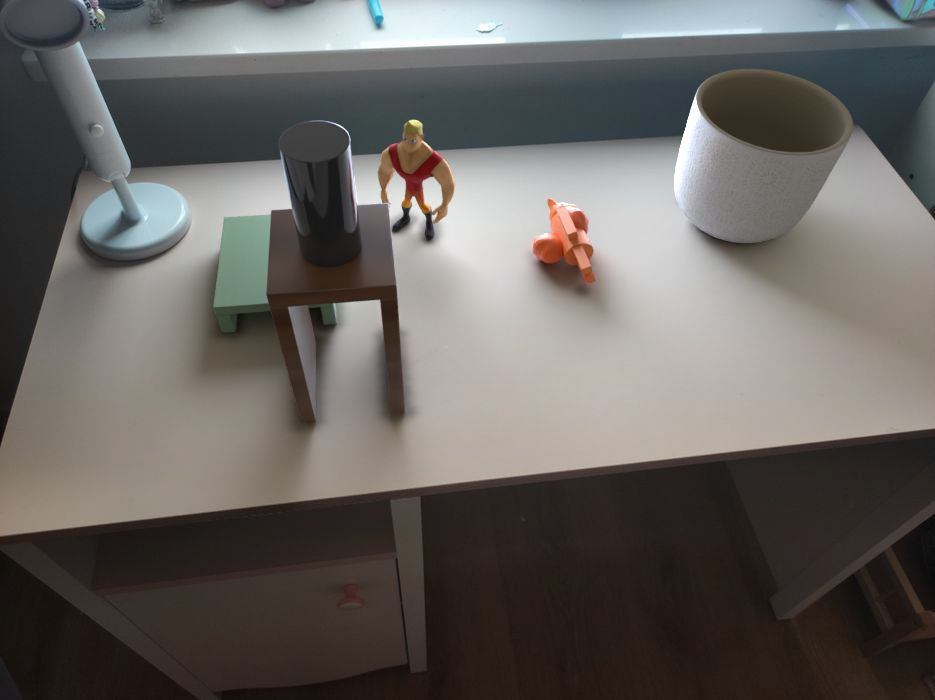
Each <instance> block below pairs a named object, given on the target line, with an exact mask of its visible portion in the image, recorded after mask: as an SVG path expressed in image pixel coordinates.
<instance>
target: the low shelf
mask: <svg viewBox="0 0 935 700" xmlns="http://www.w3.org/2000/svg"><path fill="white" fill-rule="evenodd" d="M270 221H271V213H270V214H256V215H240V216H226V217H225V216H224V217H223V222H222V223H223V224H222V231H221V238H220V249H219V255H218V265H217V271H216V272H217V273H216V279H215V288H214V289H215V290H214V297H213V305H212V308H213V311H214V314H215V317H216V319H217V323H218V325H219V328H220V330H221V333H223V334H226V333H236V331H237V321H238V315H239V314H249V313H261V312H262V313H263V312H271V310H270V307H269V303H268V299H267V296H266V290H267V273H268V256H269V238H270ZM308 308H309V309H314V308H315V309H317V308H319V309H320V313H321V319H322V323H323V326H324V325H336V324H337V320H338V319H337V303H332V304H319V305H308Z"/></svg>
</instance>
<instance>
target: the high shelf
mask: <svg viewBox="0 0 935 700" xmlns="http://www.w3.org/2000/svg"><path fill="white" fill-rule="evenodd" d="M389 206H390V205H389V204H388V203H382V202H381V203H365V204H358V213H359V222H360V231H361V240H362V247H361V250H360V252H359V253H358V255H357V256H356V257H355V258H354V259H353V260H351V261H349V262H347V263H345V264H343V265H339V266H334V267H323V266H318V265H315V264H312V263H310V262H309V261H307V260H306V259H305V258H304V257H303V256H302V254H301V252H300V247H299V242H298V237H297V232H296V228H295V223H294V218H293V213H292V208H285V209H283V208H281V209H271V210H270V214H271V221H270V238H269V256H268V273H267V290H266V296H267V299H268V303H269V307H270V310H271V311H270V314H271V318H272V321H273V324H274V328H275V332H276V336H277V339H278V342H279V346H280V350H281V354H282V357H283V361H284V365H285V368H286V372H287V375H288V380H289V383H290V387H291V390H292V395H293V397H294V401H295V405H296V408H297V412H298V415H299V419H300V423H301V424H304V423H305V424H306V423H316V422H317V341H316V337H315V336H316V335H315V332H314V327H313V323H312V318H311V313H310V308H308V305H319V304H332V303H336V304H343V303H357V302H359V303H360V302H369V301H370V302H373V301H379V304H380V313H381V314H380V315H381V325H382V335H383V336H382V337H383V345H384V346H383V347H384V356H385V357H384V358H385V368H386V377H387V380H386V381H387V389H388V390H387V391H388V400H389V411H390V415H392V416H393V415H401V414H406V408H405V407H406V406H405V405H406V404H405V391H404V374H403V361H402V359H403V358H402V347H401V345H402V344H401V343H402V342H401V329H400V315H399V314H400V313H399V312H400V311H399V299H398V296H399V295H398V286H397V285H398V284H397V283H398V282H397V274H396V264H395V263H396V262H395V253H394V244H393V233H392V225H391V213H390V207H389Z"/></svg>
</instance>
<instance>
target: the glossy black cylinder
mask: <svg viewBox="0 0 935 700" xmlns="http://www.w3.org/2000/svg"><path fill="white" fill-rule="evenodd" d="M278 149H279V155H280V160H281V163H282V168H283V169H282V170H283V173H284V174H283V175H284V178H285V184H286V187H287V189H286V190H287V193H288V199H289V203H290V209H292V213H293V218H294V223H295V228H296V232H297V237H298V242H299V247H300V252H301V254H302V256H303V257H304V258H305V259H306V260H307V261H309V262H310V263H312V264H315V265H318V266H323V267H334V266H339V265H343V264H345V263H347V262H349V261H351V260H353V259H354V258H355V257H356V256H357V255H358V253H359V252H360V250H361V247H362V240H361V231H360V222H359V213H358V205H359V204H358V197H357V187H356V179H355V169H354V161H353V152H352V143H351V136H350V135H349V132H348V131H347V130H346V129H345V128H344V127H343V126H341V125H340V124H337V123H335V122H331V121H326V120H309V121H302V122H299V123H297V124H294V125H292V126H290V127H288V128H287V129H286V130H285V131H283V132H282V134H281V135H280V137H279V139H278Z"/></svg>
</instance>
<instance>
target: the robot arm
mask: <svg viewBox="0 0 935 700" xmlns="http://www.w3.org/2000/svg"><path fill="white" fill-rule="evenodd" d="M0 700H24V697H23V695H22V694H21V692H20V690H19V687H18V686H17V684H16V682H15V680H14V679H13V676H12V674H11V673H10V671H9V669H8V668H7V666H6V664H5V662H4V660H3V659H2V657H1V656H0Z"/></svg>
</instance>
